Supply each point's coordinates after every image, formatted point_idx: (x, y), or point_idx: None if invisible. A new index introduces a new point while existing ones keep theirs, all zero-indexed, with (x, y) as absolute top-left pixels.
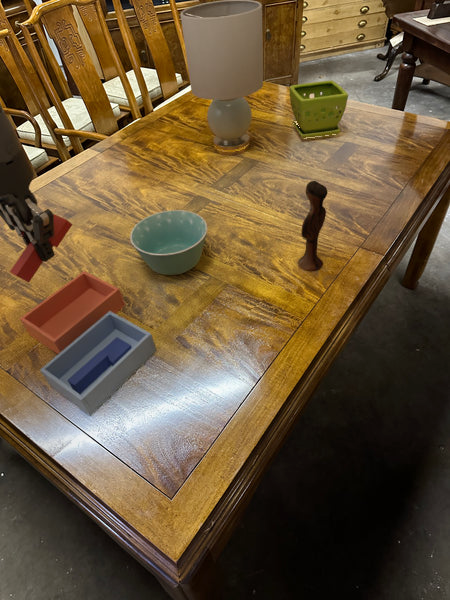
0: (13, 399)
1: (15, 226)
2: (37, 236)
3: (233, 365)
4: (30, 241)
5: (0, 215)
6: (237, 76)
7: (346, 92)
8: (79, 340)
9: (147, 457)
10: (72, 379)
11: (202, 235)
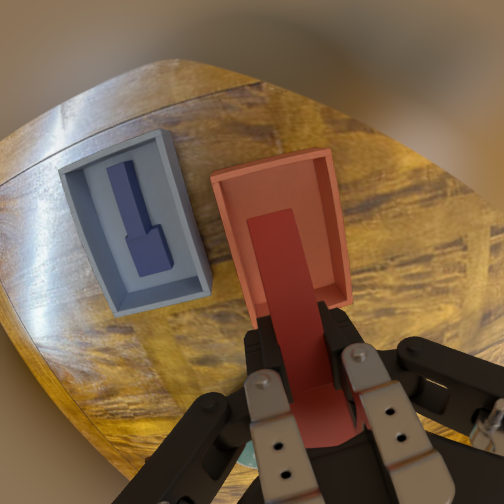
0: (189, 72)
1: (357, 393)
2: (185, 433)
3: (60, 344)
4: (324, 350)
5: (472, 360)
6: None
7: None
8: (179, 218)
9: (5, 204)
10: (118, 169)
11: (251, 453)
